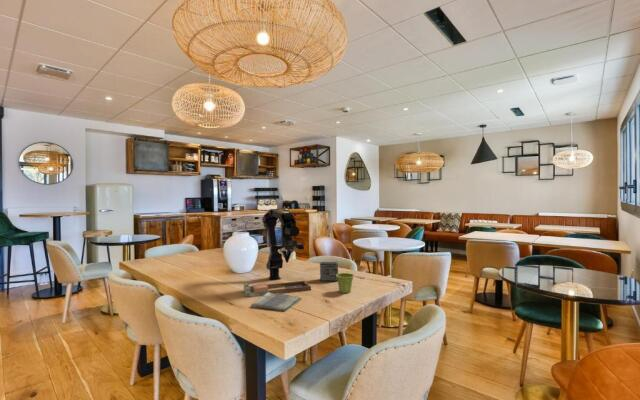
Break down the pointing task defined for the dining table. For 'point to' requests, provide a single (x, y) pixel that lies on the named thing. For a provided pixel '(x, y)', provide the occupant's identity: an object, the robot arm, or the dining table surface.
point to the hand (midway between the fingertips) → (287, 262)
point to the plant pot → (345, 282)
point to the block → (259, 287)
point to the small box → (328, 271)
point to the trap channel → (289, 288)
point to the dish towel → (276, 302)
